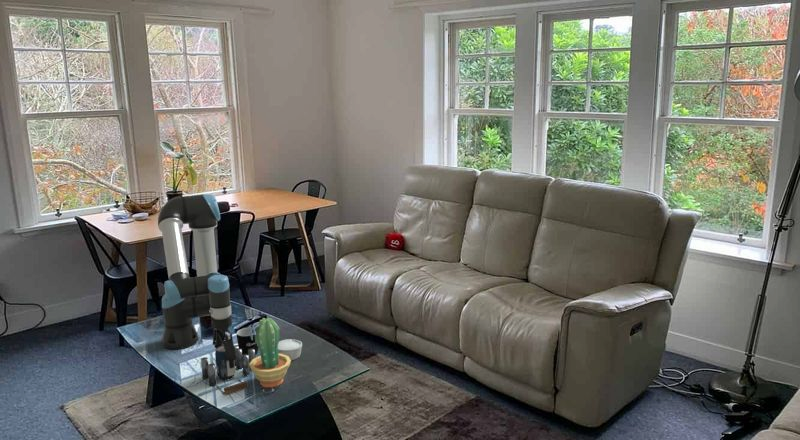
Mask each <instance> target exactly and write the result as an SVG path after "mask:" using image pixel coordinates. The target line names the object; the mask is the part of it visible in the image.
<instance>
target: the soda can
mask: <svg viewBox="0 0 800 440" xmlns="http://www.w3.org/2000/svg"><path fill="white" fill-rule="evenodd" d="M215 349H216V348H215ZM214 357H215V371H216V378H218V379H219V380H220V381H229V380H228V379H230V380H232V379H233V378H235V375H232V376H228V372H227V361H226V359H227V356H226V352H225V349H224V345H222V346H219V347H218V348H217V349H216V351H215V352H214ZM234 363H235V360H234ZM235 374H236V371H235ZM231 378H232V379H231Z"/></svg>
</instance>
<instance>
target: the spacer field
mask: <svg viewBox="0 0 800 440" xmlns="http://www.w3.org/2000/svg"><path fill="white" fill-rule="evenodd" d="M234 349H235V353H236V359H235V369H236V368H237V369H236V370H238V369H240V370H242V376H243V375H244V376H243V377H248V376H247V375H249V376H250V375H251V372H250V371H252V370H251V368H250V365H249V364H250V362H251V361H252V360H253V359H254V358H256V355H255V349H253V348H251V349H248V354H244V355H242V349H241V348H239V347H238V344H234ZM200 364H201V365H200V366H201V374H202V375H201V376H202V380H208V383H209V384H208V385H209V387H215V386H217V372H216V363H209V358H208V357H207V356H205V357H204V356H203V357H201V358H200ZM242 368H243V369H242Z"/></svg>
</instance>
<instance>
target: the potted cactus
mask: <svg viewBox="0 0 800 440" xmlns="http://www.w3.org/2000/svg"><path fill="white" fill-rule="evenodd" d="M249 334H250V337H251V339H252V340H253V338H252V337H253V334H254V335H255V342H256V344H257V346H258V352H259V356H255V358H254V359H253V360H252V361H251V362H250V364H249V365H250V368H251V370H250V371H251V372H252V373H254V375H255V377H256V379H257V380H258V381H259V382H260V383H259V385H260V386H261V385H262V387H264V388H274V387H278V386H279V385H282V384H283V383H284V377H285V375H286V374H287V372H288V369H289V368H290V365H291V363H292V360H290V358H289V356H286V355H283V354H278V343H279V341H280V327H279V326H278V324H277V323H276V322H275V321H274V320H273V319H272V318H270V317H266V318H265V317H262V319H260V320H259V321H258V322H254V323H253V324H252V326H251V330H250V333H249Z"/></svg>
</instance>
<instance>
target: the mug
mask: <svg viewBox="0 0 800 440" xmlns="http://www.w3.org/2000/svg"><path fill="white" fill-rule="evenodd" d="M251 328H252V326H251V327H250V326H249V327H243V328H241V329H238V330H237V331H236V341H237V345H238V348H241V349H242V355H244V354H248V349H251V348H253V349H255V356H257V354H258V353H259V348H258V346H257V344H256V342H255V335H254V334H253V337H252V338H253V340H252V339H251V337H250V334H249V333H250V330H251Z"/></svg>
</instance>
